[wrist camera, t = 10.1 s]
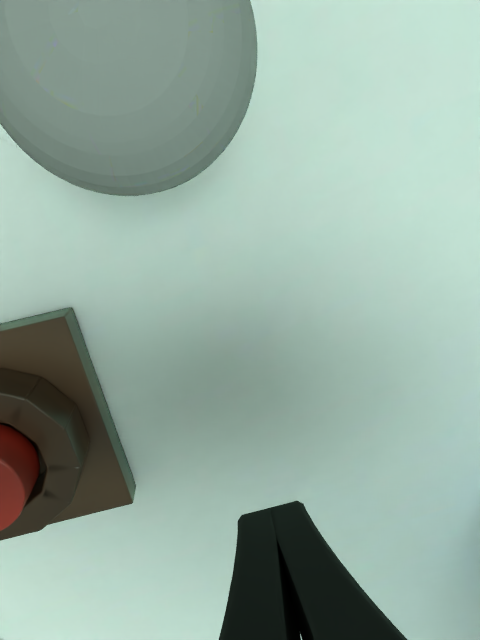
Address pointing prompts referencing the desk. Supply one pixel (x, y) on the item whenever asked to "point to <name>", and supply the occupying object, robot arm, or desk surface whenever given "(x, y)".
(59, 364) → the button block
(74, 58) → the light bulb
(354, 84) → the desk surface
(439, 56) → the desk surface
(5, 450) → the button
